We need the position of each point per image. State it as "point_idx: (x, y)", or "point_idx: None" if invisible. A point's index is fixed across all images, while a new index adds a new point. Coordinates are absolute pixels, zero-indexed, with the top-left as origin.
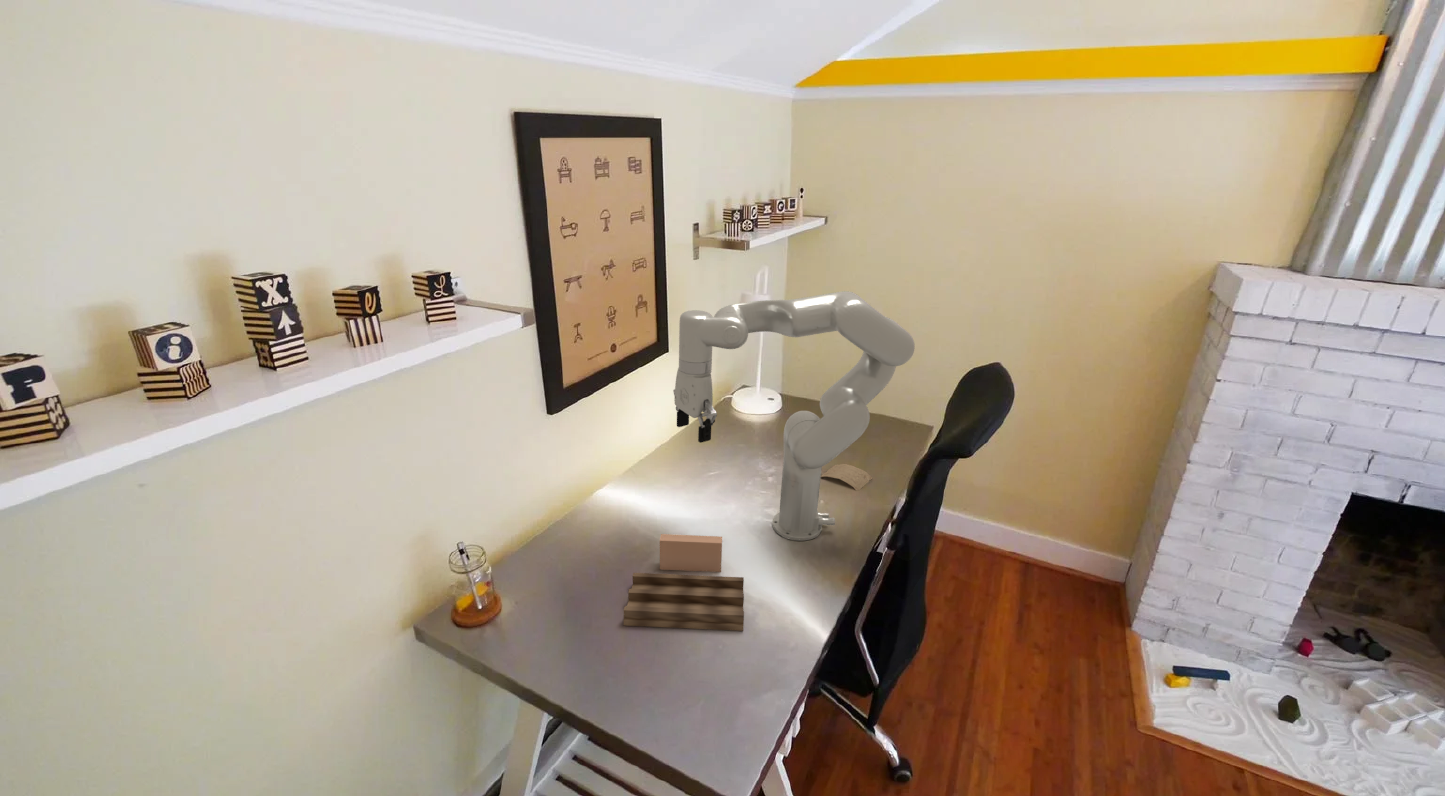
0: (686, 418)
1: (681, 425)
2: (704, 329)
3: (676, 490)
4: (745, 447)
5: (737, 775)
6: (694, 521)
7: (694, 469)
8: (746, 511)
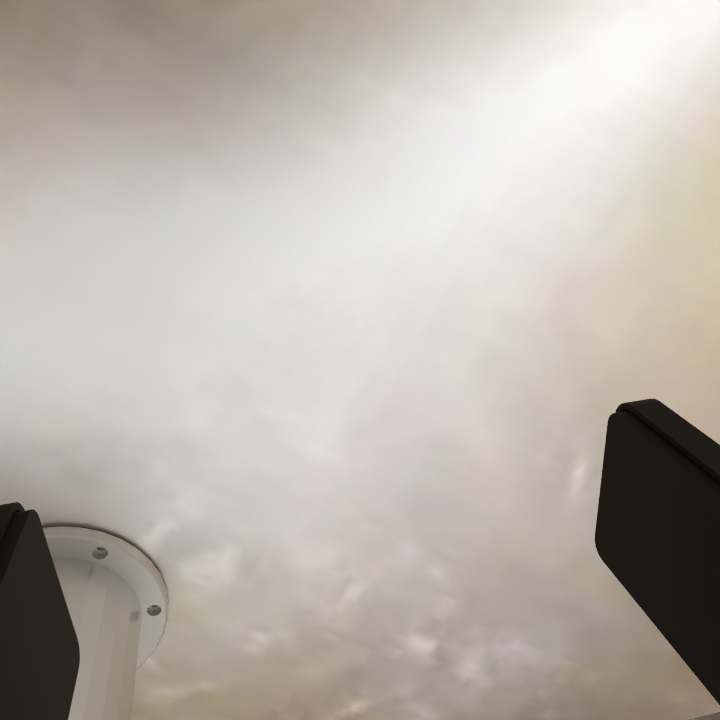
0: (661, 591)
1: (615, 459)
2: None
3: (552, 284)
4: (656, 645)
5: None
6: (286, 249)
7: None
8: (255, 482)
